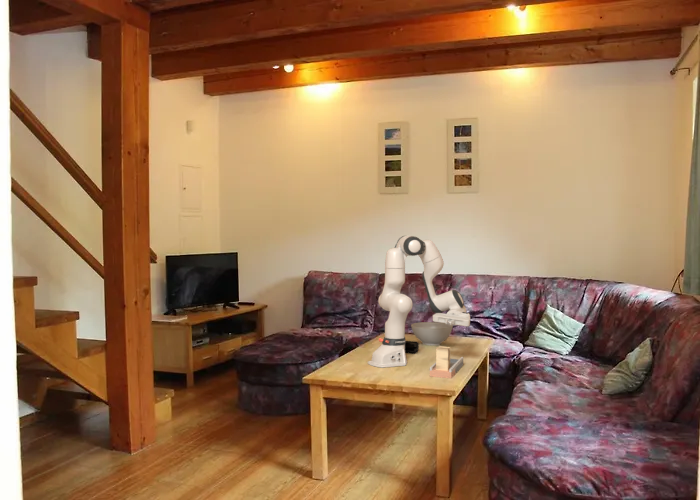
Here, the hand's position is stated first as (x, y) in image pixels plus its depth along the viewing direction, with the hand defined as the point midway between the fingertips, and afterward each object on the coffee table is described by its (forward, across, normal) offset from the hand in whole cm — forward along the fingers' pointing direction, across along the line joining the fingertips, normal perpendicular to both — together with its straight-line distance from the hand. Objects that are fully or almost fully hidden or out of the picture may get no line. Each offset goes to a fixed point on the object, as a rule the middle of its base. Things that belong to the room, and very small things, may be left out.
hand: (448, 323), depth 322 cm
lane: (+6, +3, +24) cm, 25 cm away
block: (+16, +3, +20) cm, 26 cm away
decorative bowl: (-64, -24, +34) cm, 76 cm away
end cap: (-31, -29, +31) cm, 53 cm away
